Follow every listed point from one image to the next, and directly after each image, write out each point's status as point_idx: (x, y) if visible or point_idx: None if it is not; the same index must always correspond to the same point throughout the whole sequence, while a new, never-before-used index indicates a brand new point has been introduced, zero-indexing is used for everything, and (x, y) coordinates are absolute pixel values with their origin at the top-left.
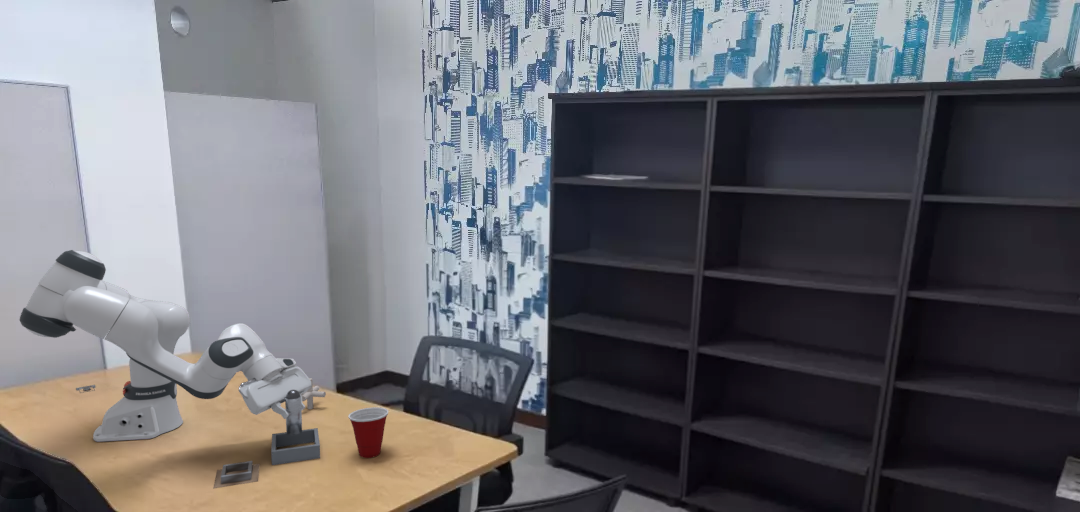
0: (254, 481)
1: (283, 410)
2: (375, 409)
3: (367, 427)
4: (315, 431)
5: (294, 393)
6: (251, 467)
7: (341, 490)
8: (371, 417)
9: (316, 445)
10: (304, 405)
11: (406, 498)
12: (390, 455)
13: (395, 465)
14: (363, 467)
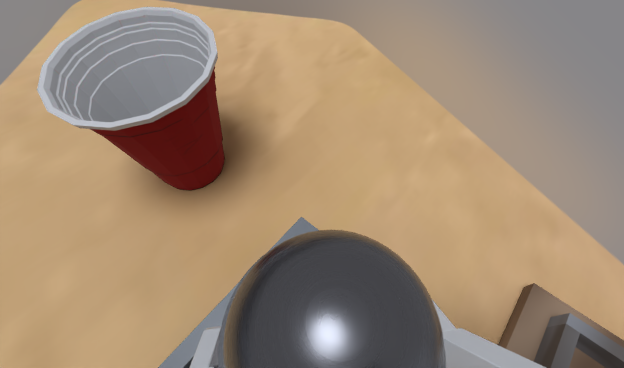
0: (545, 293)
1: (464, 330)
2: (54, 85)
3: (205, 60)
4: (191, 349)
5: (366, 241)
6: (556, 354)
7: (378, 105)
8: (88, 117)
9: (308, 226)
10: (205, 333)
11: (329, 23)
12: None
13: (230, 89)
14: (270, 131)
